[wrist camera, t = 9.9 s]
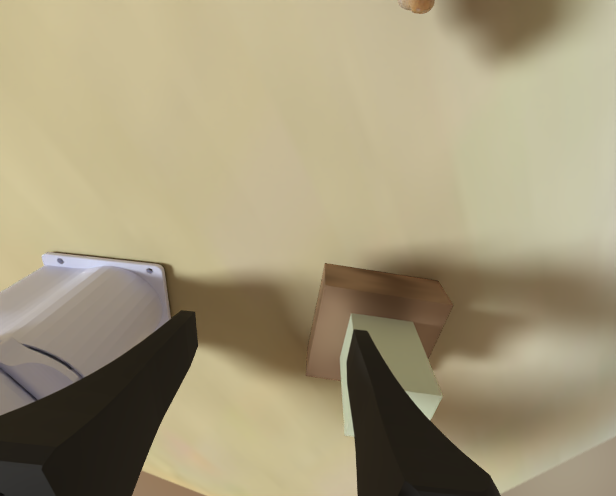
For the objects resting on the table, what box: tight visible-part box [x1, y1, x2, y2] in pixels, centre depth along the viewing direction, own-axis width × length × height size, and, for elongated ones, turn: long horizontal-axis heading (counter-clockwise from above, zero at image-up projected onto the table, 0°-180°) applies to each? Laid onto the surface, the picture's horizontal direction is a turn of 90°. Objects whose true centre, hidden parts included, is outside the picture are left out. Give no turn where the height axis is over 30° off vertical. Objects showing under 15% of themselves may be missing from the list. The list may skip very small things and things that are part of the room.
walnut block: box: [306, 263, 453, 381], centre depth 24 cm, size 9×9×4 cm
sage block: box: [340, 313, 443, 437], centre depth 20 cm, size 4×4×6 cm
